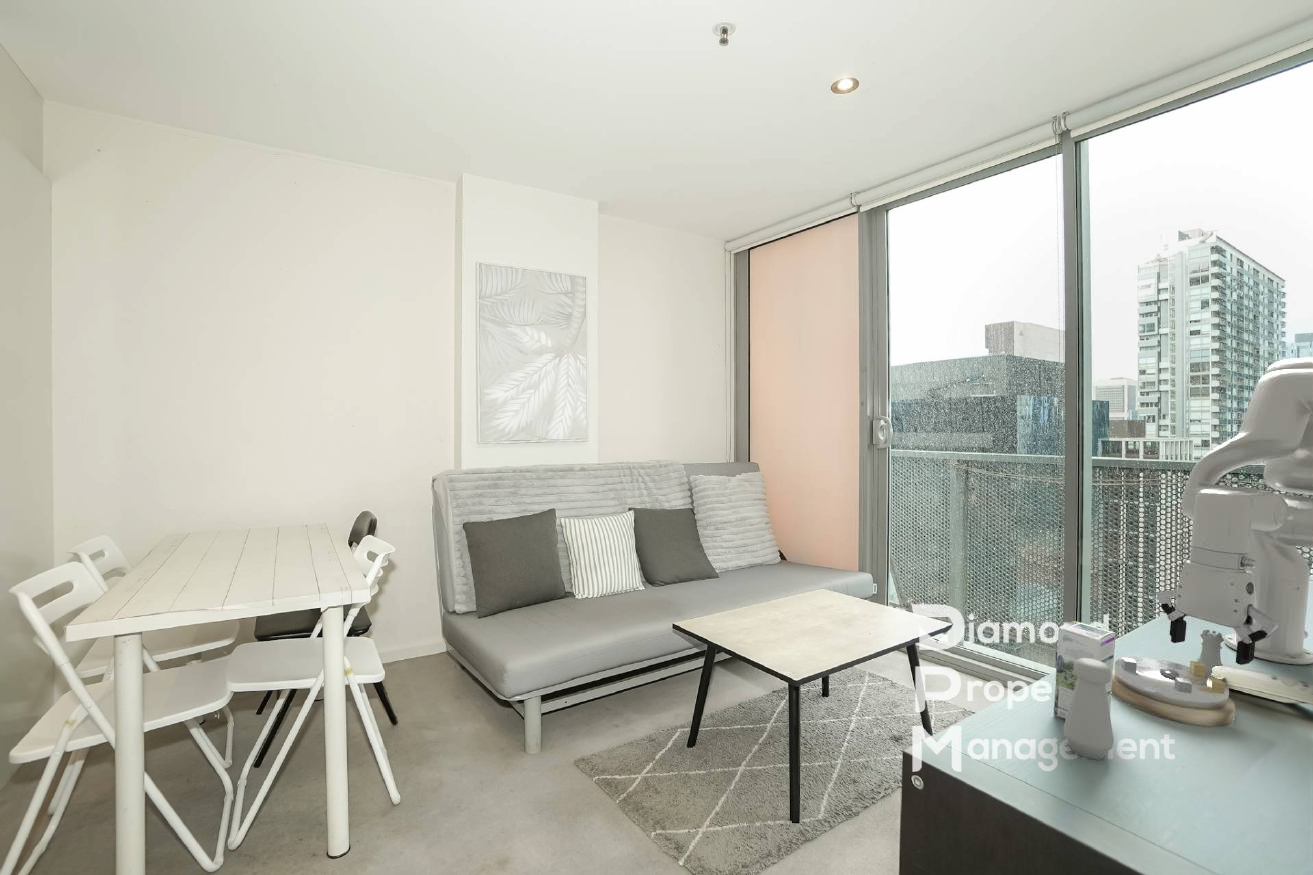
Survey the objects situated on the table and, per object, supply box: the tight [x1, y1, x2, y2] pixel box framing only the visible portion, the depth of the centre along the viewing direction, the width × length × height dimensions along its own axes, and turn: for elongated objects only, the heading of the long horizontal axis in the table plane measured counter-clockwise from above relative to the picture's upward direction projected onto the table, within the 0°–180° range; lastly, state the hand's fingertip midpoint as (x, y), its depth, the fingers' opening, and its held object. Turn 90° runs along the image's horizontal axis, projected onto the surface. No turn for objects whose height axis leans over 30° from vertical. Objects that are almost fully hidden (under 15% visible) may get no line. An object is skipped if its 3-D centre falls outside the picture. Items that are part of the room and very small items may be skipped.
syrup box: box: [1053, 620, 1116, 721], centre depth 93 cm, size 6×6×14 cm
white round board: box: [1113, 656, 1230, 710], centre depth 100 cm, size 14×14×4 cm
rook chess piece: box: [1195, 629, 1225, 675], centre depth 110 cm, size 4×4×8 cm
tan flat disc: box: [1111, 668, 1236, 727], centre depth 100 cm, size 16×16×2 cm
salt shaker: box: [1063, 658, 1115, 761], centre depth 85 cm, size 6×6×13 cm
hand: (1209, 652), depth 109 cm, fingers open, 9 cm apart
